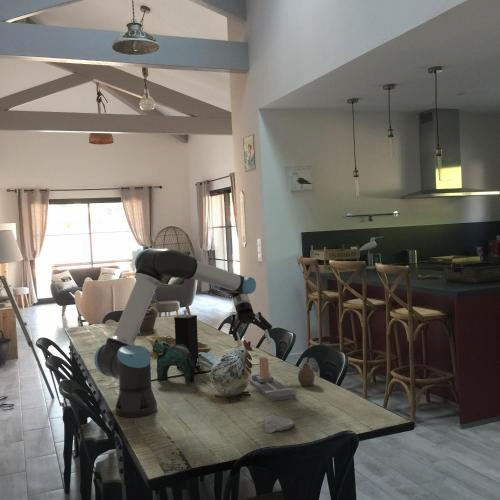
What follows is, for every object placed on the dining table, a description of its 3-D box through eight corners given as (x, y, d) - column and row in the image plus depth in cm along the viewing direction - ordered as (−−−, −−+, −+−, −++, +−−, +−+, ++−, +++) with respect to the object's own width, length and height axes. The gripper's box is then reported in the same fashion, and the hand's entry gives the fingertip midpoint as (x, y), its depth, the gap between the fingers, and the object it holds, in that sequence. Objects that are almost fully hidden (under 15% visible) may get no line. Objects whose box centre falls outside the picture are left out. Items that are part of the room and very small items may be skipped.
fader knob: (255, 379, 233) (255, 357, 232) (269, 377, 235) (268, 355, 234) (259, 382, 228) (259, 360, 227) (273, 381, 230) (272, 358, 229)
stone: (293, 420, 190) (293, 410, 190) (294, 433, 178) (294, 422, 178) (264, 421, 190) (263, 411, 190) (263, 434, 179) (262, 423, 179)
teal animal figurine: (152, 380, 245) (150, 335, 244) (161, 376, 250) (159, 332, 249) (190, 384, 235) (188, 338, 234) (198, 380, 241) (196, 335, 240)
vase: (314, 387, 225) (313, 366, 225) (297, 387, 226) (296, 366, 226) (315, 382, 232) (314, 362, 231) (299, 382, 233) (298, 362, 233)
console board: (249, 383, 234) (249, 375, 234) (271, 380, 238) (271, 372, 237) (271, 401, 210) (271, 392, 210) (295, 397, 213) (295, 388, 213)
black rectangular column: (176, 368, 263) (173, 310, 261) (185, 364, 270) (183, 307, 268) (189, 370, 259) (187, 311, 258) (199, 365, 266) (196, 308, 265)
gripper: (266, 308, 261) (279, 346, 247) (215, 313, 253) (226, 352, 239) (270, 299, 255) (283, 337, 242) (218, 303, 247) (229, 343, 234)
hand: (255, 344), depth 241 cm, fingers open, 13 cm apart
